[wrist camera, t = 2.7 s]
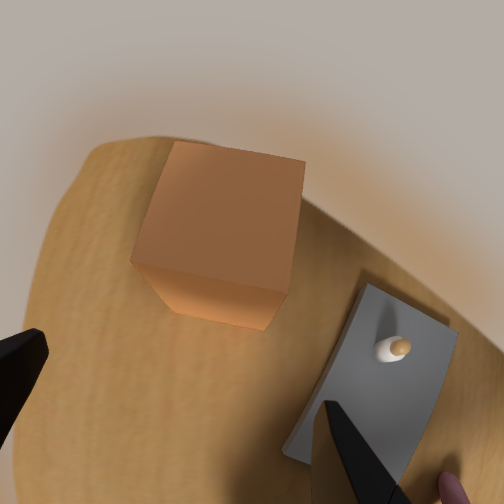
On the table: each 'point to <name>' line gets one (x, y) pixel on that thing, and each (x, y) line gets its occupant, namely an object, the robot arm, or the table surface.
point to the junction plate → (381, 378)
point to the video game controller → (451, 489)
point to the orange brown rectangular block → (222, 233)
